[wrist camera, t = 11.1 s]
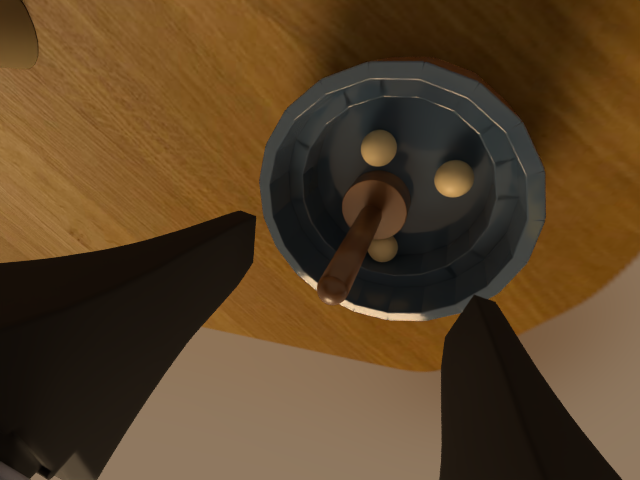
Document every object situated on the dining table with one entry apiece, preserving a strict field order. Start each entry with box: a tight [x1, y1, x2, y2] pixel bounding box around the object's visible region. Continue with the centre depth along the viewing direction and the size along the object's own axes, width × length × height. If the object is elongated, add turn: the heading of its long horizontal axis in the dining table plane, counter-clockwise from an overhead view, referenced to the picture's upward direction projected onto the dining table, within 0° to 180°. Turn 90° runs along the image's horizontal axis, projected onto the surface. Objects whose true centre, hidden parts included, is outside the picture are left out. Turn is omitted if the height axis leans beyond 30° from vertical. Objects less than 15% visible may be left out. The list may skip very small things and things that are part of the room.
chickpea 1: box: [361, 130, 397, 166], centre depth 16 cm, size 2×2×2 cm
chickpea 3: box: [434, 160, 474, 197], centre depth 15 cm, size 2×2×2 cm
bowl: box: [259, 57, 546, 321], centre depth 16 cm, size 12×12×5 cm
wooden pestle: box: [317, 170, 411, 305], centre depth 15 cm, size 4×4×9 cm
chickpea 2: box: [368, 236, 398, 262], centre depth 19 cm, size 2×2×2 cm
